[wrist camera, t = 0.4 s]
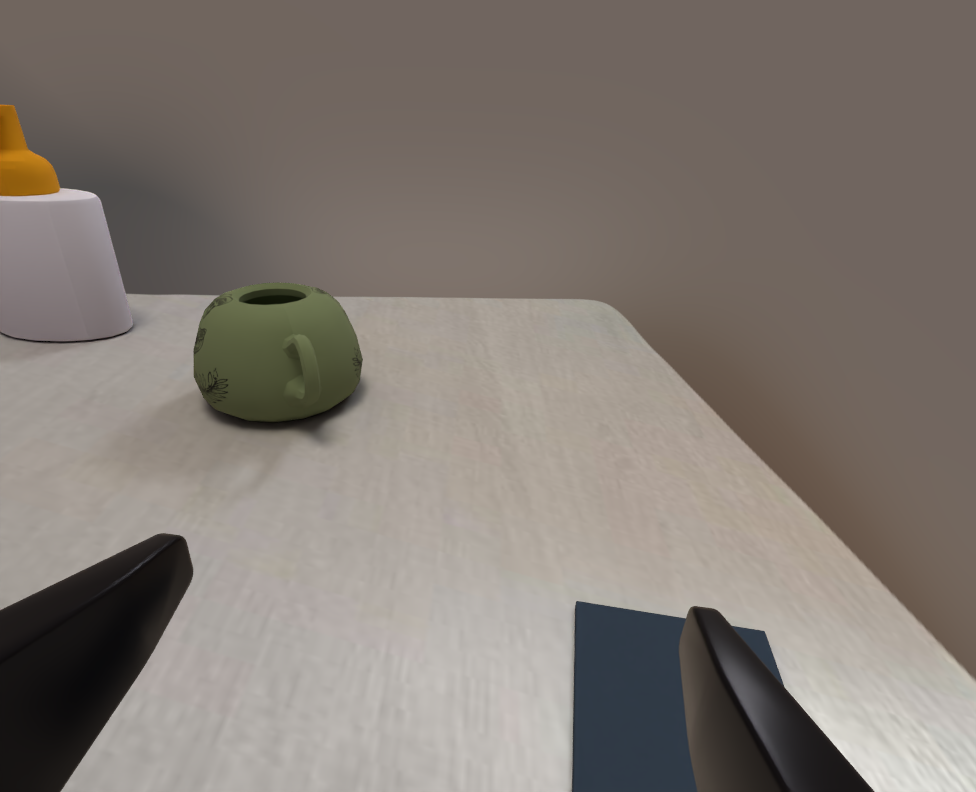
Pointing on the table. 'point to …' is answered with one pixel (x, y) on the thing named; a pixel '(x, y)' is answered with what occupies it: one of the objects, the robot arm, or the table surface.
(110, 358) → the table surface
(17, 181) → the soap bottle
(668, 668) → the mat
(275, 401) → the green rounded pot
